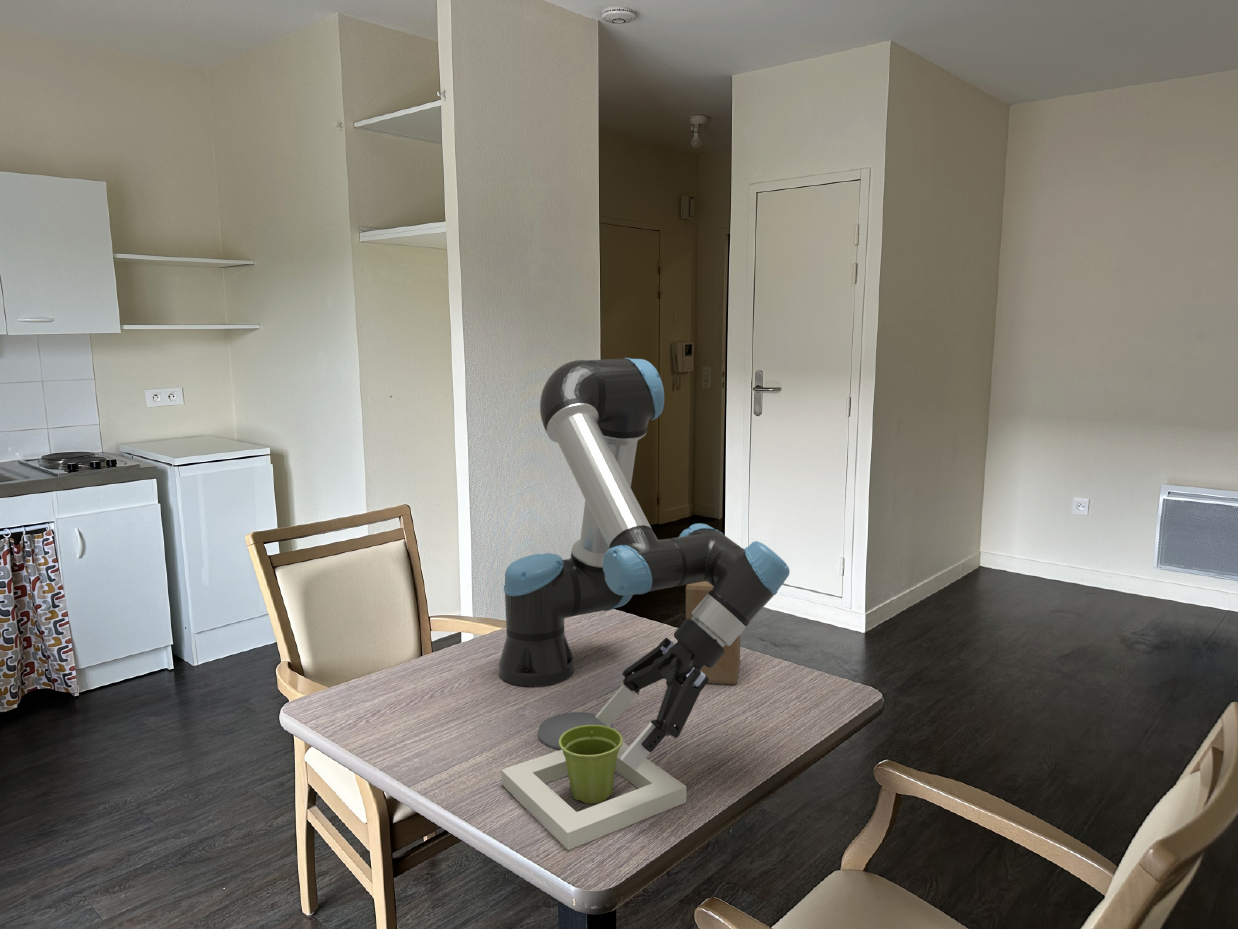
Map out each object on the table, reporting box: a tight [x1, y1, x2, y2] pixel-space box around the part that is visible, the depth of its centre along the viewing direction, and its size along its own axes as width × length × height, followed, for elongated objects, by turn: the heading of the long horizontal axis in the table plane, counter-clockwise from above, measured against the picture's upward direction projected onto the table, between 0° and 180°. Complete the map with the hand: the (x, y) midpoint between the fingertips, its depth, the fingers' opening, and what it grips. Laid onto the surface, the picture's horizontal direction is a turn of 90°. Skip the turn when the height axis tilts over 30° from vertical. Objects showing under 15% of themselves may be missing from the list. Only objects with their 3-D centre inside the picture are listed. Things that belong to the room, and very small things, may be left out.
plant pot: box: [559, 725, 624, 805], centre depth 125 cm, size 9×9×9 cm
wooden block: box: [685, 581, 741, 685], centre depth 167 cm, size 10×10×20 cm
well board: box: [500, 741, 687, 851], centre depth 126 cm, size 20×20×2 cm
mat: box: [537, 711, 615, 751], centre depth 145 cm, size 13×13×1 cm
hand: (614, 742), depth 125 cm, fingers open, 13 cm apart
